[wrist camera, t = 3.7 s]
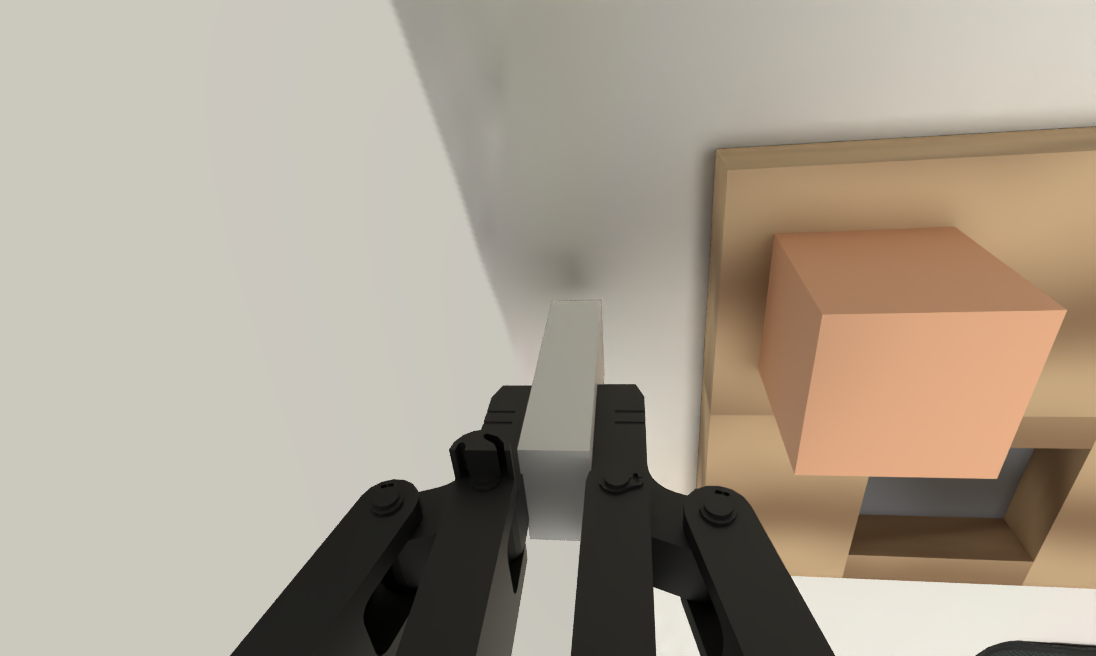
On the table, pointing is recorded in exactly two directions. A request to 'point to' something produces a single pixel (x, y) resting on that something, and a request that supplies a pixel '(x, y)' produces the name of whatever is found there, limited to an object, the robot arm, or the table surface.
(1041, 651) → the mouse mat
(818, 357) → the block
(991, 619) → the table surface
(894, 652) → the table surface
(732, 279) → the board
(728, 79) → the table surface
